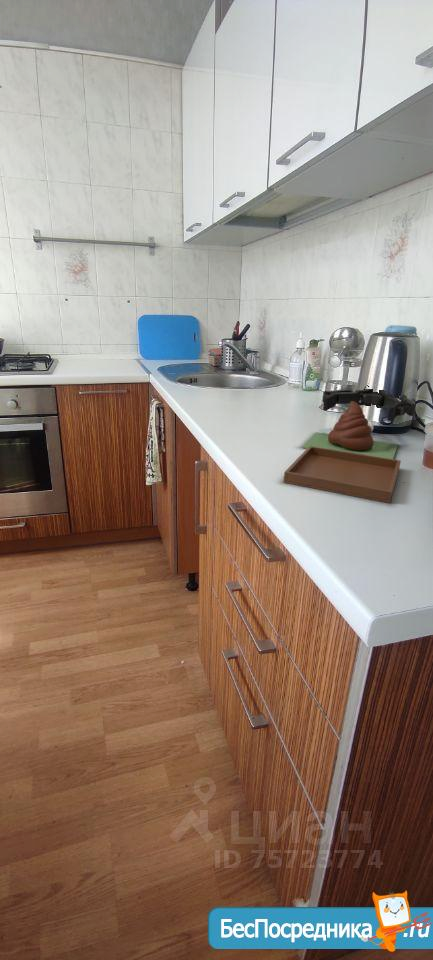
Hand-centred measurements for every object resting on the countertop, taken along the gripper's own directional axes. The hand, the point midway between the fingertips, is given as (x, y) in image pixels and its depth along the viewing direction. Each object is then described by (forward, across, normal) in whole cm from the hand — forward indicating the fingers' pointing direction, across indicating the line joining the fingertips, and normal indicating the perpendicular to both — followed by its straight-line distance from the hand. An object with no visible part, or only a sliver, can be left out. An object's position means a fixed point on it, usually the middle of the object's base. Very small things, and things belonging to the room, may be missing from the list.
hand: (356, 409), depth 97 cm
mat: (0, 0, -8) cm, 8 cm away
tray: (+18, -4, -8) cm, 21 cm away
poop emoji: (0, 0, -8) cm, 8 cm away
